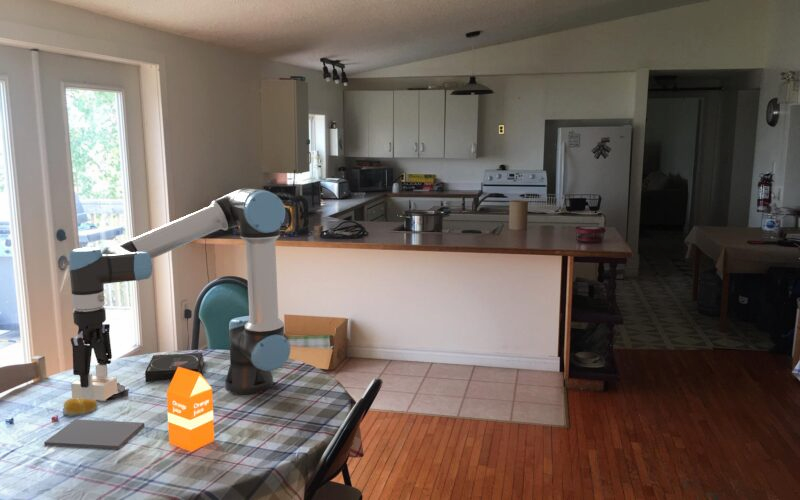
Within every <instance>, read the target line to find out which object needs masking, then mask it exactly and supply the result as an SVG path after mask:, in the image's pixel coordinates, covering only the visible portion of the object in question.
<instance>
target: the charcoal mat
mask: <svg viewBox="0 0 800 500" xmlns="http://www.w3.org/2000/svg"><path fill="white" fill-rule="evenodd" d="M144 426H145V423H144V422H134V421H116V420H112V421H111V420H99V419H97V420H94V419H74V420H72V421H70V423H68V424H67V425H65V426H64V427H63V428H61V429H60V430H58V432H56V433H54V434H53V435H51V437H49V438H48V439H47V440H45V441H44V443H43V444H44V446H54V447H55V446H56V447H73V448H74V447H75V448H76V447H77V448H91V449H92V448H94V449H97V448H98V449H110V450H111V449H113V450H119V449H120V448H121V447H122V446H123V445H124V444H125V443H127V442H128V441H129V440H130V439H131V438H132V437H134V435H135V434H136V433H137V432H139V431H140V430H141V429H142V428H143V427H144Z"/></svg>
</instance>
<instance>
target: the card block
mask: <svg viewBox="0 0 800 500" xmlns="http://www.w3.org/2000/svg"><path fill="white" fill-rule="evenodd" d="M117 380H118V378H117V377H111V376H107V377H100V376H96V375H92V383H93V398H92V399H90V400H96V401H101V400H103V401H102V402H104V400H106V399H107V398H109V397H110V396H112V395H113V394H117V393H118V389H117V383H118V381H117ZM70 385H71V386H70V389H71V399H72V398H76V399H88V398H82V391H81V383H80V378H78V379H76V380H75V381H73V382H72V383H71V384H70Z"/></svg>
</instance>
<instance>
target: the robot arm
mask: <svg viewBox="0 0 800 500" xmlns="http://www.w3.org/2000/svg"><path fill="white" fill-rule="evenodd" d="M285 219H286V208H285V205H284V203H283V200H282V199H281V198H280V197H279V196H278V195H276V194H275V193H273V192H271V191H269V190H267V189H266V190H265V189H259V188H252V187H244V188H240V189H237V190H235V191H232V192H230V193H228V194H226V195H224V196H221V197H219V198H217V199H214V200H212V201H211V202H210V205H209V206H207V207H203V208H202V209H200V210H198V211H195V212H193V213H189V214H187V215H186V216H183V217H180V218H178V219H176V220H173V221H171V222H168V223H166V224H163V225H162V226H160V227H157V228H155V229H154V228H153V229H152V230H149V231H148V232H145V233H143V234H141V235H138V236H136V237H132V238H130V239H128V240H126V241H123V242H121V243H119V244H118V243H116V244H113V243H112V244H108V245H107V246H106V247H104V249H103V250H101V248H98V247H80V248H79V247H78V248H74V249H73V250H71V251H70V252H69V255H68V257H69V258H68V260H69V266H68V269H69V278H70V288H71V289H70V290H71V303H72V304H71V305H72V306H71V307H72V309H73V311H72V315H73V316H72V317H73V324H74V325H76V326H77V327H78V330H77V335H76V336H75V337H74V336H72V337H71V338H70V342H71V346H72V349H71V350H72V369H73V371H72V373H73V375H74V376H79V379H80V383H81V391H82V398H88V399H92V398H93V383H92V376H93V374H92V373H90V372H91V371H90V369H91V363H92V354H93V353H94V355H95V359H96V361H97V363H96V364H95V374H96V375H95V376H100V377H108V365H110V364H111V363H112V358H113V355H112V346H111V337H110V326H111V325H110V323H105V322H106V320H107V317H106V316H107V315H106V308H105V307H104V306H105V304H106V303H105V302H106V301H105V292H104V290H105V289H104V287H105V286H104V285H105V284H113V283H124V282H126V283H127V282H135V281H137V282H139V281H142V280H143V281H144V280H148V279H150V278H151V277H152V274H153V261H152V260H153V259H155V258H157V257H160V256H162V255H165V254H167V253H168V252H171V251H173V250H176V249H178V248H180V247H183V246H185V245H187V244H190V243H192V242H194V241H196V240H199V239H201V238H203V237H206V236H208V235H209V234H212V233H214V232H217V231H220V230H223V231H228V230H230V229H232V228H235V227H239V237H240V238H241V239H242V240H243V241H244V243H245V253H246V254H245V255H246V256H245V257H246V275H247V297H248V315H245V316H239V317H235V318H232V319H231V320H230V321H229V324H228V326H229V327H228V334H229V335H228V336H229V337H228V339H229V358H230V365H229V367H228V369H227V370H228V371H227V374H226V378H225V382H224V384H225V389H226V390H227V392H229V393H232V394H237V395H252V394H259V393H263V392H265V391H268V390H269V389H271V388H272V387H273V386H274V377H273V374H272V372H273V371H276V370H279V369H280V368H281V367H283V366H284V364H285V363H286V362H287V361H288V360H289V358H290V355H291V349H292V347H291V345H290V342H289V340H288V339H287V338H286V337H285V323H284V322H283V321H282V319H280V318H279V298H278V297H279V296H278V277H277V275H278V274H277V253H276V251H277V250H276V241H277V239H279V237H281V226H282V224H283V223H284V221H285ZM92 351H93V353H92Z"/></svg>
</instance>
